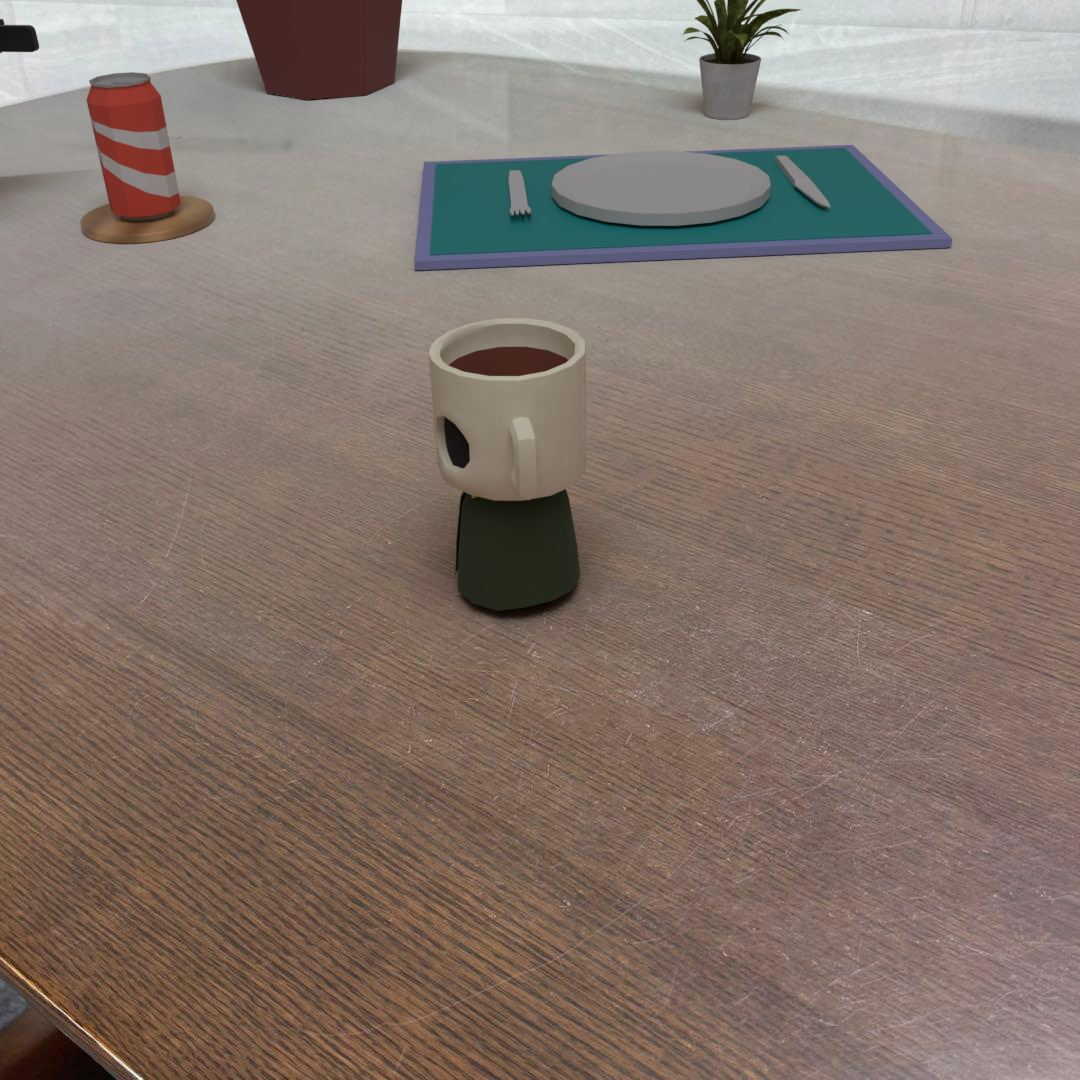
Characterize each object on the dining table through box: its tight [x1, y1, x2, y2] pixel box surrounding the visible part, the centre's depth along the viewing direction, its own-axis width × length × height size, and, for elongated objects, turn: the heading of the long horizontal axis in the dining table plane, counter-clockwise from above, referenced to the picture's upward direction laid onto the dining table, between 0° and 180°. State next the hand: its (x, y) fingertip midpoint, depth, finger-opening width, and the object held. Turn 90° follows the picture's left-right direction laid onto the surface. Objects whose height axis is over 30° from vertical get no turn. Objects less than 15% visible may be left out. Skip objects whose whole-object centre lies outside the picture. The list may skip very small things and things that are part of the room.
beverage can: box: [86, 71, 181, 222], centre depth 109 cm, size 6×6×12 cm
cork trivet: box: [79, 194, 216, 244], centre depth 112 cm, size 12×12×1 cm
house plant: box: [681, 0, 803, 121], centre depth 136 cm, size 14×14×16 cm
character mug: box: [428, 317, 587, 612], centre depth 57 cm, size 11×7×13 cm, turn 9°
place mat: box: [413, 144, 953, 271], centre depth 112 cm, size 45×30×2 cm
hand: (8, 47), depth 106 cm, fingers open, 8 cm apart
